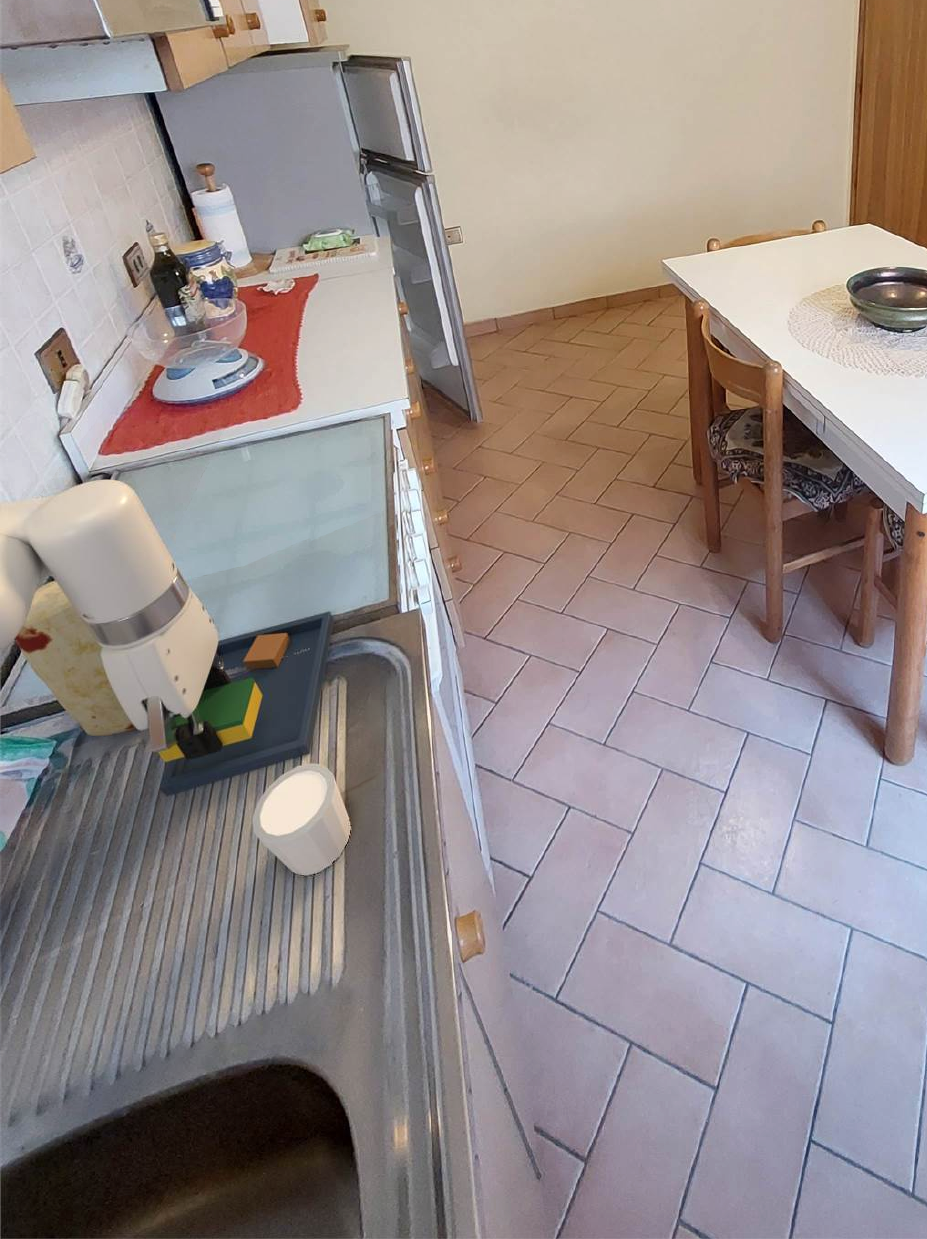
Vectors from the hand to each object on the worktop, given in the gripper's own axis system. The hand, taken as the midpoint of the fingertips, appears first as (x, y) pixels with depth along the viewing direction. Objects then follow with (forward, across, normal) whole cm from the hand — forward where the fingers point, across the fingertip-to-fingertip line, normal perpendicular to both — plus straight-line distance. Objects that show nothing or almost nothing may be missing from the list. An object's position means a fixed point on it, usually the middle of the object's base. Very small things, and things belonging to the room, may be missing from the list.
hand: (213, 725), depth 75 cm
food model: (+5, -8, -11) cm, 14 cm away
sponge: (0, 0, 0) cm, 0 cm away
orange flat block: (+4, -11, +2) cm, 12 cm away
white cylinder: (+4, +13, +11) cm, 18 cm away
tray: (+4, -5, +2) cm, 7 cm away
